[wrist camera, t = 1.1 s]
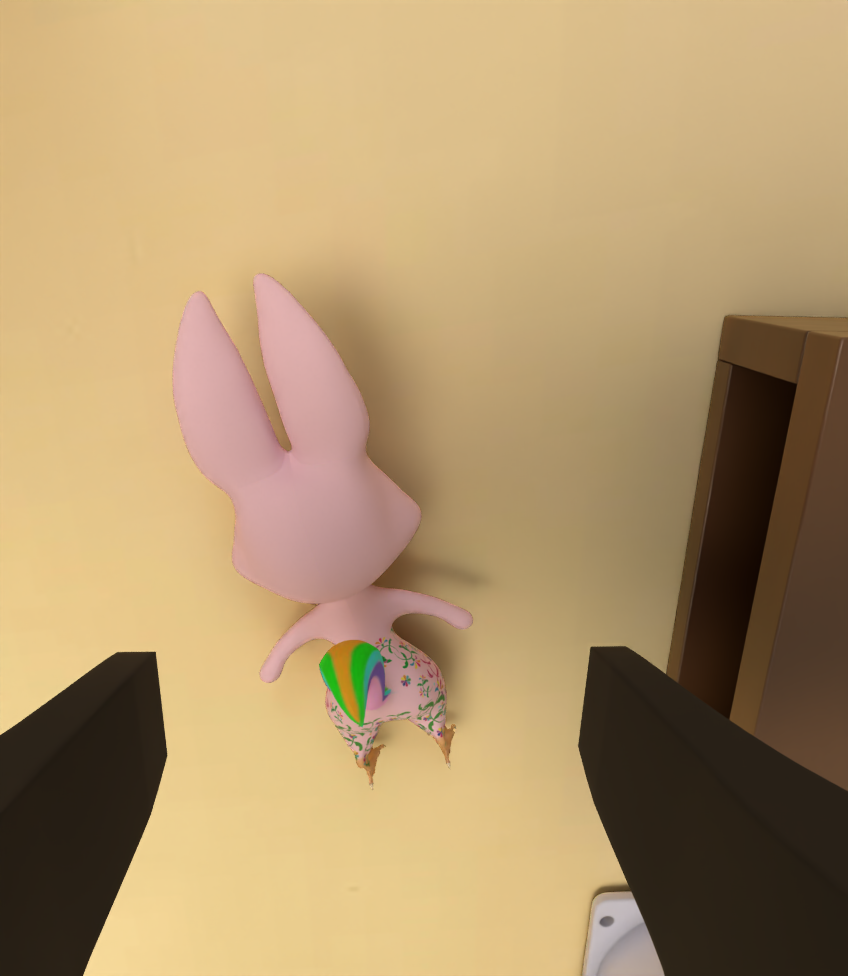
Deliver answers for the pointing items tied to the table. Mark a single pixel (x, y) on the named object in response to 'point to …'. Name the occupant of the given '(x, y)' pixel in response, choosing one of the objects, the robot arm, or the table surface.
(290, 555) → the rabbit figure
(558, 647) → the table surface
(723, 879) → the robot arm
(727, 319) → the wooden cubby shelf
